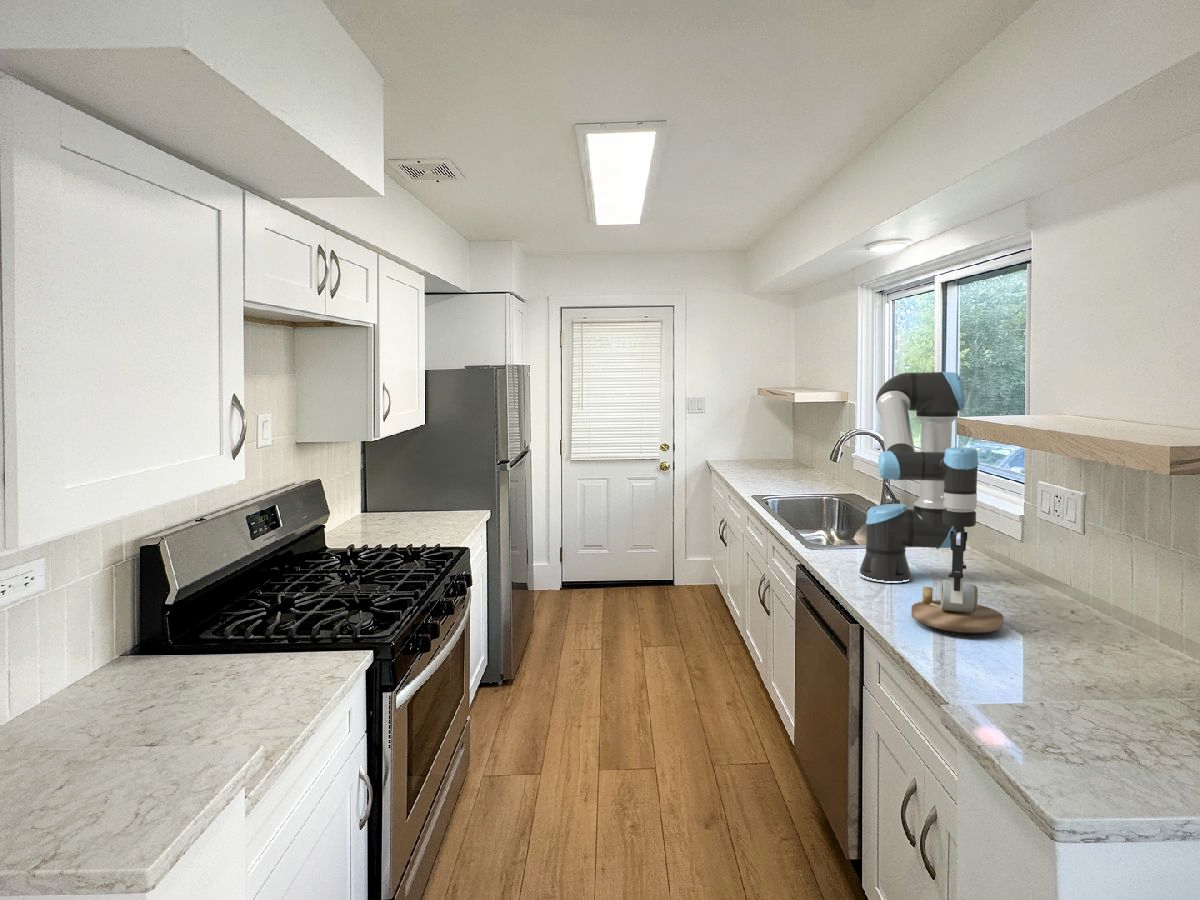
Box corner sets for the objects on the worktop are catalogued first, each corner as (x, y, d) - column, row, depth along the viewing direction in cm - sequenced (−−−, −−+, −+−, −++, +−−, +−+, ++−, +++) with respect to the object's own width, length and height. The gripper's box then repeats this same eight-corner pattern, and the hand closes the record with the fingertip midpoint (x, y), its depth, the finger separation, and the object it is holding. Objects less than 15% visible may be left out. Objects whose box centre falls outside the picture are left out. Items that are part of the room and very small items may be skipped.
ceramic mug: (978, 616, 183) (979, 586, 182) (941, 613, 186) (942, 583, 185) (973, 605, 193) (974, 576, 192) (939, 602, 196) (939, 573, 195)
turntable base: (927, 614, 198) (927, 609, 198) (986, 621, 192) (986, 615, 191) (924, 630, 185) (924, 624, 185) (987, 638, 179) (987, 632, 179)
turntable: (1022, 624, 183) (1023, 601, 183) (962, 637, 174) (963, 613, 174) (950, 602, 202) (951, 581, 202) (893, 613, 193) (893, 591, 193)
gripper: (944, 502, 197) (941, 586, 199) (941, 515, 178) (938, 607, 180) (975, 504, 193) (973, 589, 195) (976, 517, 175) (973, 611, 177)
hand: (956, 598), depth 188 cm, fingers closed on ceramic mug, 8 cm apart
